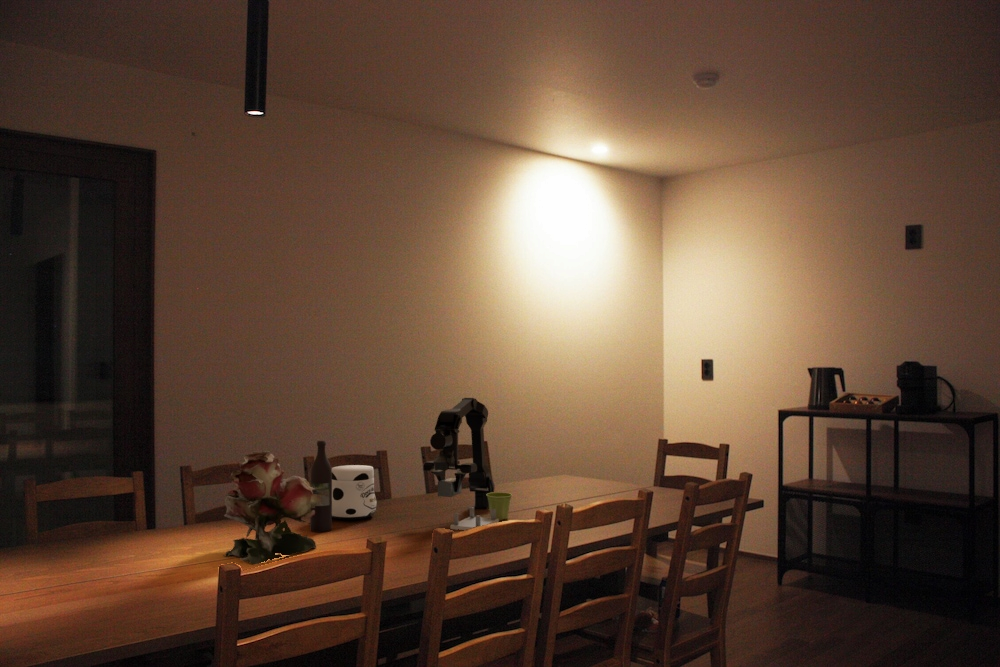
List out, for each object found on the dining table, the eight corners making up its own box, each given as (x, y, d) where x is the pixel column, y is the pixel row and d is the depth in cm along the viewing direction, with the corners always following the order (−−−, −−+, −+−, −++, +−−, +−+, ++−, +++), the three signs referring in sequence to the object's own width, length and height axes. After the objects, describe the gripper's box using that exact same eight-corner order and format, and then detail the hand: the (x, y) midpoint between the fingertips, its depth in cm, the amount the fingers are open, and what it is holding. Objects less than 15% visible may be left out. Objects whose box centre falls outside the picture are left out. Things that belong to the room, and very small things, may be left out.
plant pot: (513, 516, 290) (513, 492, 290) (511, 521, 281) (511, 496, 281) (487, 515, 291) (487, 492, 291) (484, 521, 282) (484, 496, 282)
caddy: (470, 519, 284) (470, 506, 284) (498, 522, 279) (498, 508, 280) (450, 528, 269) (450, 514, 269) (480, 531, 265) (480, 517, 265)
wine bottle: (305, 531, 266) (306, 441, 267) (319, 527, 272) (320, 439, 273) (322, 533, 263) (322, 442, 264) (336, 529, 269) (336, 440, 270)
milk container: (381, 520, 284) (381, 469, 284) (332, 524, 277) (332, 472, 278) (370, 511, 300) (370, 463, 300) (324, 515, 293) (324, 466, 294)
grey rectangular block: (448, 492, 283) (448, 477, 283) (461, 492, 281) (461, 478, 282) (437, 496, 275) (437, 481, 275) (450, 497, 273) (450, 482, 273)
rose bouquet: (330, 545, 246) (330, 448, 247) (258, 566, 221) (258, 458, 222) (270, 536, 259) (271, 443, 260) (196, 555, 234) (197, 453, 235)
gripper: (415, 448, 275) (415, 493, 274) (463, 450, 268) (463, 497, 267) (430, 444, 285) (430, 488, 285) (477, 447, 278) (477, 492, 277)
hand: (449, 491), depth 278 cm, fingers closed on grey rectangular block, 5 cm apart
